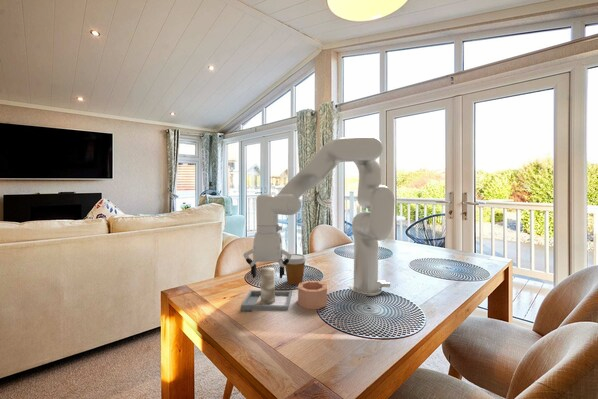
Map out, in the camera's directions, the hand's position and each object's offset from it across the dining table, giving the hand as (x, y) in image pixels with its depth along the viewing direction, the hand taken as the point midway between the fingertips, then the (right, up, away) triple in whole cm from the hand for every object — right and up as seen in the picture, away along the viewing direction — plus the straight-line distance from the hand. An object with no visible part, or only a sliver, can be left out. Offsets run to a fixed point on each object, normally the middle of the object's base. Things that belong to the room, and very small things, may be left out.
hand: (267, 276), depth 101 cm
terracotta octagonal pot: (+16, -10, 0) cm, 19 cm away
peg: (0, -9, +1) cm, 9 cm away
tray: (0, -10, +1) cm, 10 cm away
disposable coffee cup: (+9, -9, +20) cm, 24 cm away
